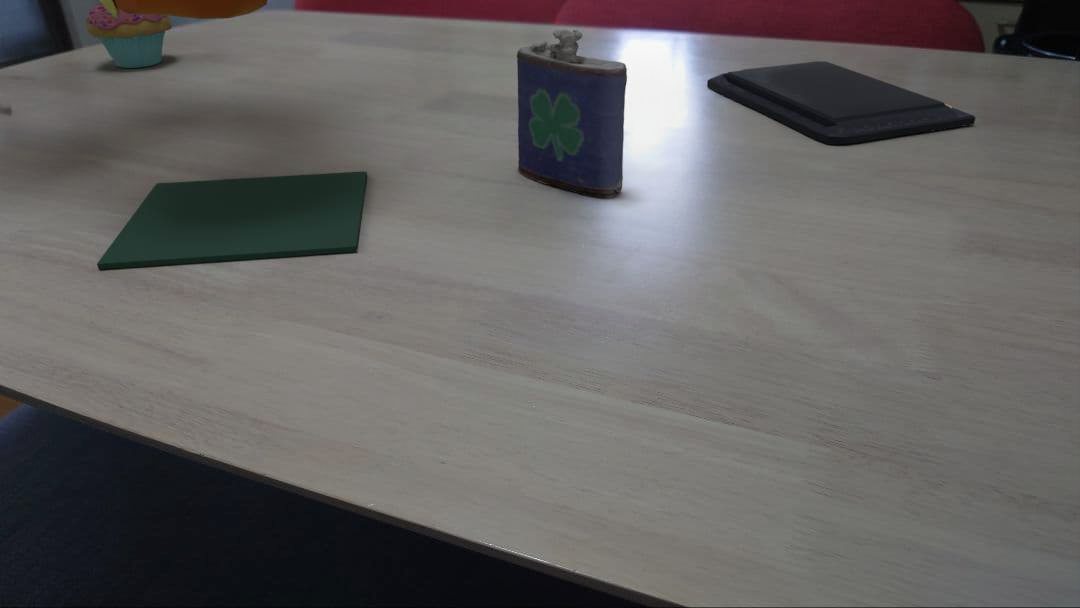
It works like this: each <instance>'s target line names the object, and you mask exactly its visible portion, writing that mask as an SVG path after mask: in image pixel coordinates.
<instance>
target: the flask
mask: <svg viewBox="0 0 1080 608" xmlns="http://www.w3.org/2000/svg"><path fill="white" fill-rule="evenodd" d="M552 36H553V37H554V38H555V39H557V40H558V41H559V42H558V43H554V44H552V43H551V44H550V43H549V42H548V41H542V42H541V43H537V44H534V43H533V44H532V45H531V46H521V47H520V48H519V50H517V53H516V54H517V55H516V58H517V59H516V64H517V111H518V117H517V141H518V142H517V143H518V167H517V171H518V172H519V173H518V174H521V175H522V176H524V177H526V178H530V179H531V180H533V181H537V182H538V183H541V184H545V185H548V186H556V187H557V188H560V189H563V190H566V191H570V192H574V193H579V194H582V195H584V196H588V197H599V198H601V199H603V198H605V199H609V198H615V197H616V196H617V195H618V194H620V193H622V190H623V180H624V175H623V174H624V173H623V164H624V163H623V162H624V139H625V134H624V133H625V132H624V130H625V129H624V126H625V104H626V99H625V98H626V88H627V83H628V73H627V72H628V68H627V66H626V63H624V62H621V61H615V60H605V59H599V58H596V57H595V58H594V57H587V56H583V55H577V53H578V49H579V47H580V46H579V43H578V42H577V41H579V40H582V37H583V33H582V31H579V30H578V29H574V30H572V31H570V30H567V29H554V30H553V31H552ZM616 192H617V193H616Z"/></svg>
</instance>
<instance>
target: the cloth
mask: <svg viewBox="0 0 1080 608" xmlns="http://www.w3.org/2000/svg"><path fill="white" fill-rule="evenodd" d="M367 179H368V171H366V170H364V171H363V170H362V171H346V172H329V173H328V172H327V173H312V174H311V173H310V174H295V175H278V176H260V177H259V176H257V177H241V178H225V179H224V178H223V179H209V180H208V179H207V180H193V181H192V180H191V181H173V182H158V183H156V184H155V185H154V186H153V188H152V189H151V190H150V192H149V193H148V194H147V195H146V197H145V198H144V200H143V201H142V202H141V204H140V205H139V206H138V208H137V209H136V211H134V213H133V214H132V216H131V217H130V219H129V220H128V221H127V223H126V224H125V225H124V226H123V228H122V229H121V231H120V232H119V233H118V235H117V236H116V237H115V239H114V240H113V241H112V243H110V246H109V247H108V248H107V250H106V251H105V252H104V253H103V255H102V256H101V258H100V259H99V260H98V262H97V263H96V266H97V268H98V270H110V269H111V270H112V269H125V268H141V267H142V268H143V267H156V266H170V265H185V264H186V265H187V264H199V263H200V264H201V263H213V262H214V263H215V262H229V261H230V262H231V261H242V260H243V261H245V260H258V259H271V258H272V259H274V258H284V257H285V258H286V257H287V258H288V257H302V256H303V257H304V256H316V255H317V256H318V255H331V254H345V253H346V254H347V253H357V252H358V245H359V236H360V232H361V224H362V217H363V209H364V202H365V193H366V187H367Z"/></svg>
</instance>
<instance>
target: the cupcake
mask: <svg viewBox="0 0 1080 608" xmlns="http://www.w3.org/2000/svg"><path fill="white" fill-rule="evenodd" d="M85 25H86V28H87V31H88V32H87V33H88V34H89V35H91V37H94V38H97V39H98V40H99V42H101V44H102V45H103V46H104V48H105V49H106V51H107V52H108V54H109V56H110V58H111V59H112V60H113V62H114V64H115V66H116V67H118V68H122V69H138V68H139V69H140V68H147V67H152V66H156V65H158V64H160V63H161V62H162V59H163V46H164V45H163V44H164V39H165V34H166V31H170V30H171V29H172V27H173V25H172V21H171V19H170V16H169V15H150V14H127V13H125V12H124V11H122V10H120V11H119V16H118V19H117V18H115V17H114V16H113V15H112V14H111V13H110V12H109V11H108V10H107V8H106V7H105V6H104V5H103V4H102V3H101V2H99V3H97V4H96V5H95V6H93V7H92V8H91V9H90V10H89V13H88V15H87V16H86V17H85Z"/></svg>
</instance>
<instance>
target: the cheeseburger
mask: <svg viewBox="0 0 1080 608" xmlns="http://www.w3.org/2000/svg"><path fill="white" fill-rule="evenodd" d="M99 1H100V2H99V3H102V4H103V5H104V6H105V7H106V8H107V10H108V11H109V12H110V13H111V14H112V15H113V16H114V17H115V18H117V19H118V16H119V11H120V10H122V11H124V12H125V13H127V14H150V15H168V17H178V18H186V19H187V18H188V19H195V20H213V19H214V20H215V19H219V20H220V19H231V18H235V17H241V16H244V15H249V14H251V13H254V12H256V11H259V10H260V9H262V8H264V7H265V6H266V5H268V0H99Z"/></svg>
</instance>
